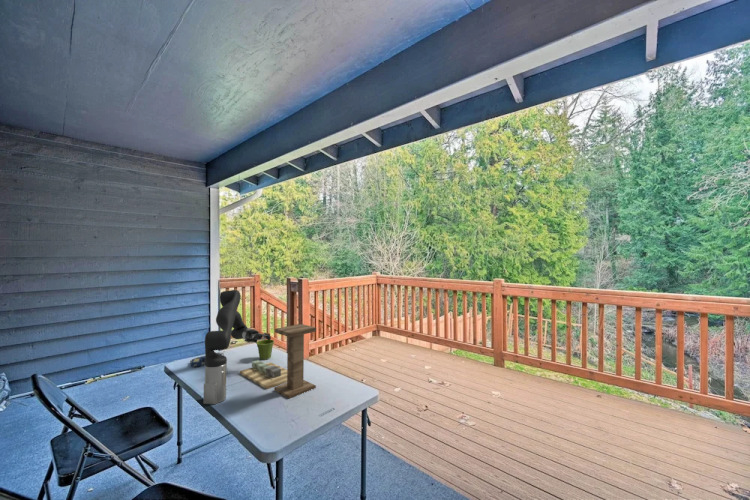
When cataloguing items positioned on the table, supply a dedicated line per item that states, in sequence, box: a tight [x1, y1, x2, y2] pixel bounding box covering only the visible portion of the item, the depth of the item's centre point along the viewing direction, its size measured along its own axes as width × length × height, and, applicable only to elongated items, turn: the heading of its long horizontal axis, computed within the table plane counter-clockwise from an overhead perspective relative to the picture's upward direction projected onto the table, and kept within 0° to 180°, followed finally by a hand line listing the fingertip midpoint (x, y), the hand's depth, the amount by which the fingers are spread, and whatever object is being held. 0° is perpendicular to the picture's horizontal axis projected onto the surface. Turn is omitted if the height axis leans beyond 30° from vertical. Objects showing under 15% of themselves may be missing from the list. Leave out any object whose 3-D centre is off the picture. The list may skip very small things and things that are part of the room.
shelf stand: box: [273, 323, 317, 400], centre depth 158 cm, size 14×16×32 cm
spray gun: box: [189, 352, 225, 368], centre depth 198 cm, size 21×4×15 cm
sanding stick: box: [251, 359, 281, 378], centre depth 178 cm, size 26×5×4 cm, turn 48°
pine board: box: [239, 361, 287, 390], centre depth 175 cm, size 32×20×2 cm, turn 48°
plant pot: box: [255, 339, 275, 361], centre depth 206 cm, size 12×12×11 cm
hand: (263, 339), depth 180 cm, fingers open, 8 cm apart
